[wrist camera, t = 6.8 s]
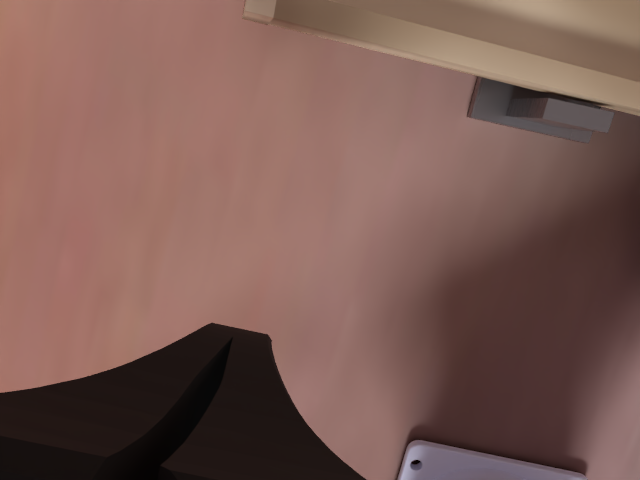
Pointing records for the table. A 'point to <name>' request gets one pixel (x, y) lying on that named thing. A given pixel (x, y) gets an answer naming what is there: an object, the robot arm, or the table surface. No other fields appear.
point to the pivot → (537, 111)
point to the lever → (489, 39)
